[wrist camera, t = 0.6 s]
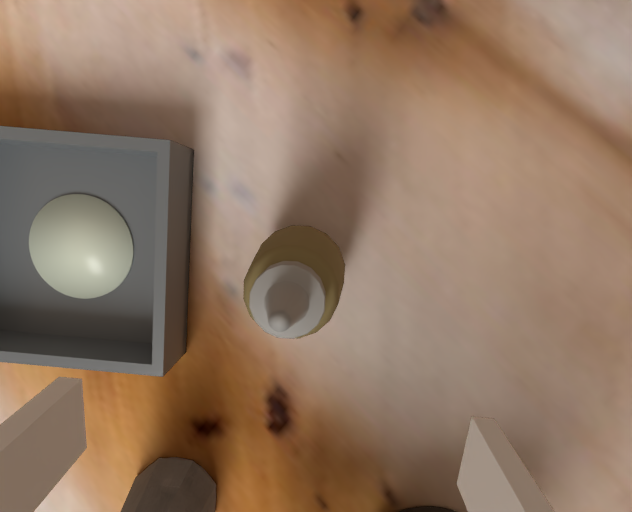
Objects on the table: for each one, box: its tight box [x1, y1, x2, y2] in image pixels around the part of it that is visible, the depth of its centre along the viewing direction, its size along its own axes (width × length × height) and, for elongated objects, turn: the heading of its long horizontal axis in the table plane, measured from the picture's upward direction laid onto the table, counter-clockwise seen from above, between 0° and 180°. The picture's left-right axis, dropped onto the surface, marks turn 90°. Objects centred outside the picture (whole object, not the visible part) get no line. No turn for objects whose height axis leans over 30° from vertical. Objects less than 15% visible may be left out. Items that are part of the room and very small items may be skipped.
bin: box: [0, 126, 194, 377], centre depth 35 cm, size 20×20×6 cm
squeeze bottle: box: [243, 226, 345, 339], centre depth 28 cm, size 8×8×18 cm
